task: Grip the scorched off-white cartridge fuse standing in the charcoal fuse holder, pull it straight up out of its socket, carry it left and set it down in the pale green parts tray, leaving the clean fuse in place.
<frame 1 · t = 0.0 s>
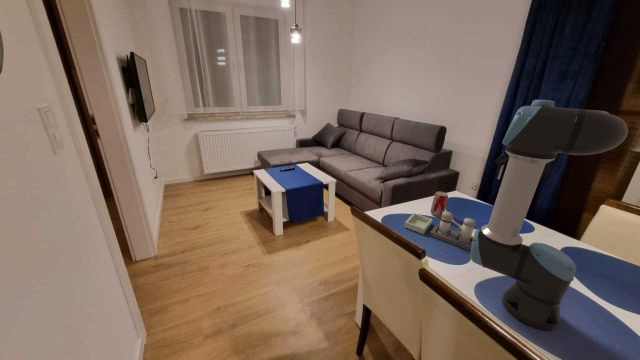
hand: (515, 182, 120), 28 cm above the table, fingers open, 13 cm apart
fuse holder: (452, 238, 124), on the table
soda can: (436, 214, 147), on the table
parts tray: (417, 225, 134), on the table
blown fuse: (442, 235, 127), resting in fuse holder
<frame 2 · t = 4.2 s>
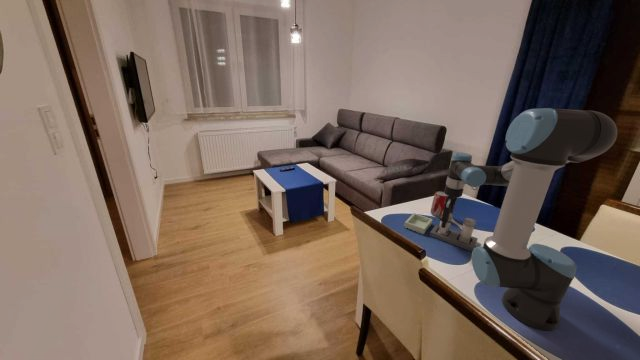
hand: (443, 230, 126), 3 cm above the table, fingers closed on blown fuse, 4 cm apart
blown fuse: (442, 235, 127), resting in fuse holder, touching gripper
everything else where it was.
when the fingers open (5 cm above the table, at t = 9.9 s): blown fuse drops 1 cm, resting on parts tray.
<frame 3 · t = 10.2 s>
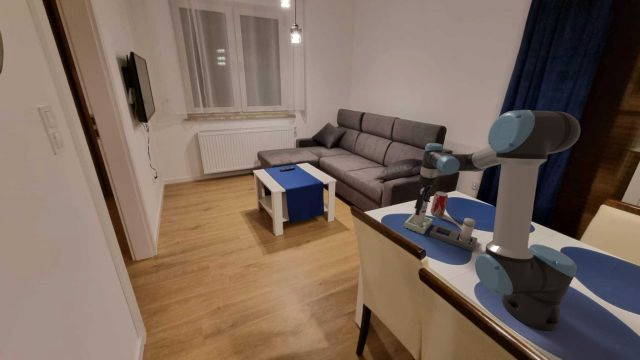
hand: (419, 216, 132), 5 cm above the table, fingers open, 9 cm apart
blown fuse: (418, 224, 134), point 1 cm above the table, touching parts tray
everything else where it was.
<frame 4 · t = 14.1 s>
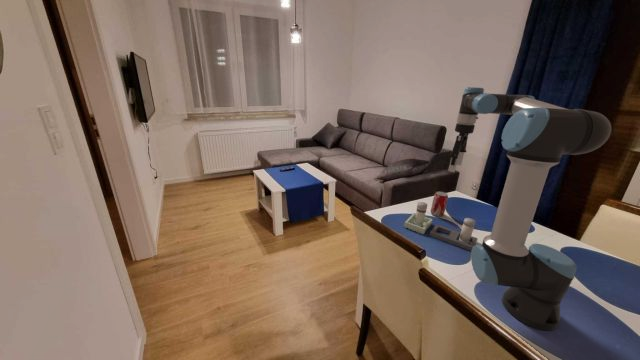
hand: (454, 168, 124), 32 cm above the table, fingers open, 13 cm apart
nothing on the table moved.
at the end: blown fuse inside the target area on the parts tray (0.0 cm from its centre), point 0.6 cm above the parts tray's base; the gripper is holding nothing; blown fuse touching parts tray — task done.
